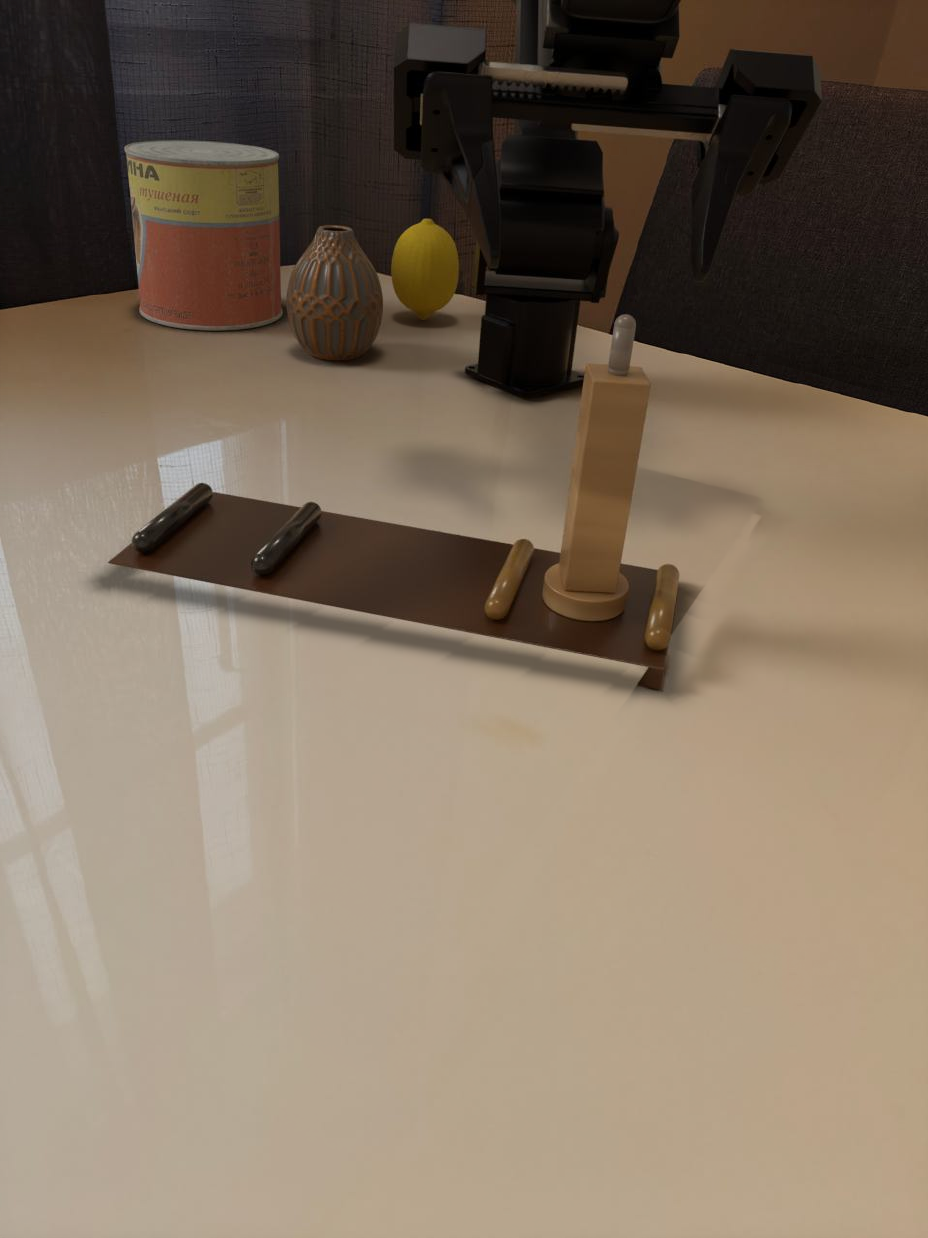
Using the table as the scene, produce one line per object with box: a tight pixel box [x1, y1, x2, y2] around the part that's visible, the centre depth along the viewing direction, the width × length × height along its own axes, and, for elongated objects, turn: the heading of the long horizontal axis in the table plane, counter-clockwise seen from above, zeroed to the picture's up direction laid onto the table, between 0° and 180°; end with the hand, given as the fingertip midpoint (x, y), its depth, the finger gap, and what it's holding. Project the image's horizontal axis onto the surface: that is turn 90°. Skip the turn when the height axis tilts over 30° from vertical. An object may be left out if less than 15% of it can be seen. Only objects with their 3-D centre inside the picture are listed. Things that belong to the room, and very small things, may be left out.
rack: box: [107, 482, 680, 690], centre depth 45 cm, size 24×8×2 cm, turn 76°
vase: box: [286, 224, 384, 361], centre depth 73 cm, size 7×7×9 cm
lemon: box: [390, 218, 460, 321], centre depth 83 cm, size 6×6×8 cm
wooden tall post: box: [542, 313, 652, 621], centre depth 41 cm, size 4×4×12 cm
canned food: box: [124, 139, 284, 332], centre depth 79 cm, size 11×11×12 cm
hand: (598, 269), depth 44 cm, fingers open, 9 cm apart
